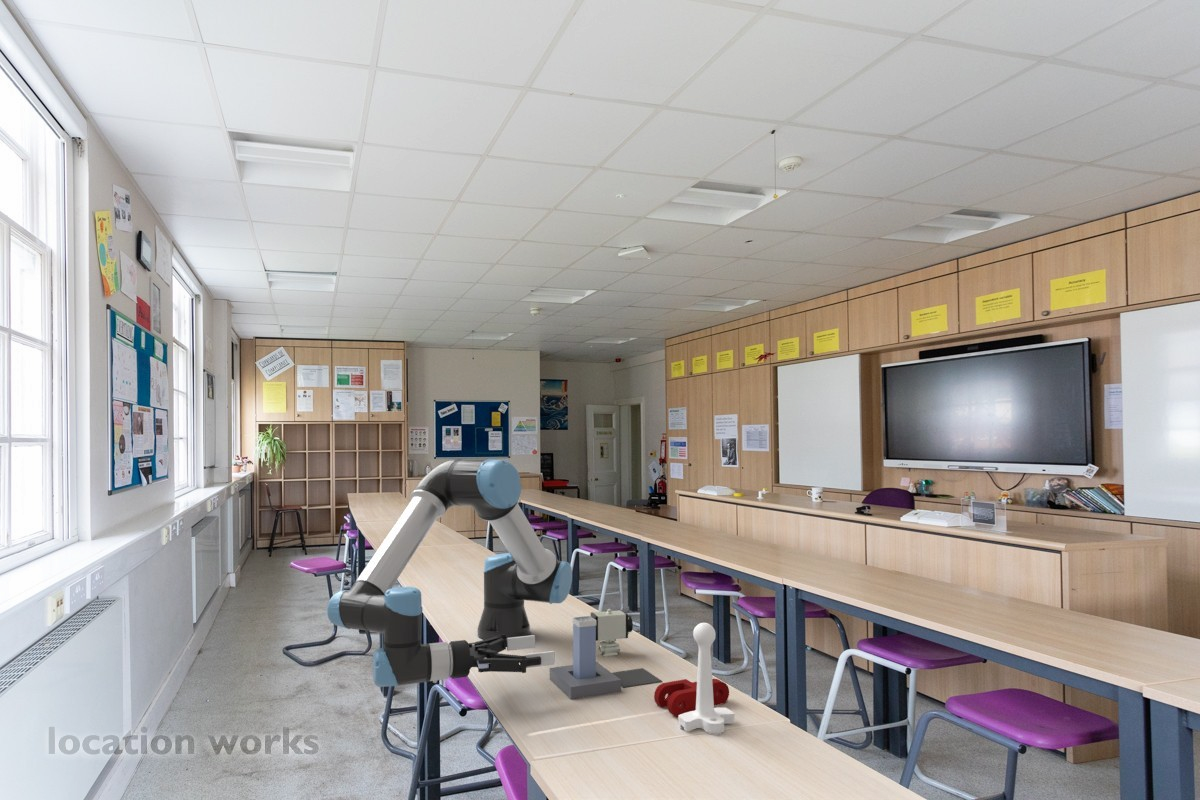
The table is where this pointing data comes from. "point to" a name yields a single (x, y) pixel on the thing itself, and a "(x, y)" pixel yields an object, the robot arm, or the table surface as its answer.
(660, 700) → the mechanical linkage
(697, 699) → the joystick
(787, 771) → the table surface
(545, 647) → the table surface
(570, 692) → the socket
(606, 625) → the pneumatic valve
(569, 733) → the table surface
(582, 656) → the plug
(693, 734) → the table surface
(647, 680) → the mat
